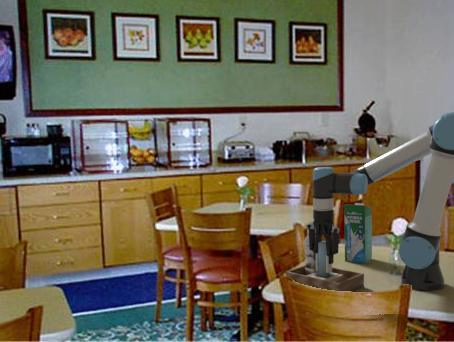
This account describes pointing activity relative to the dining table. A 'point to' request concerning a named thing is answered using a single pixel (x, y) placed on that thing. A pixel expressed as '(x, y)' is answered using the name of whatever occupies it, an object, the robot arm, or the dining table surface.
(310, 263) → the plastic bottle
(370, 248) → the milk carton
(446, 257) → the dining table surface
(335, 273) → the tray
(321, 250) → the peg
